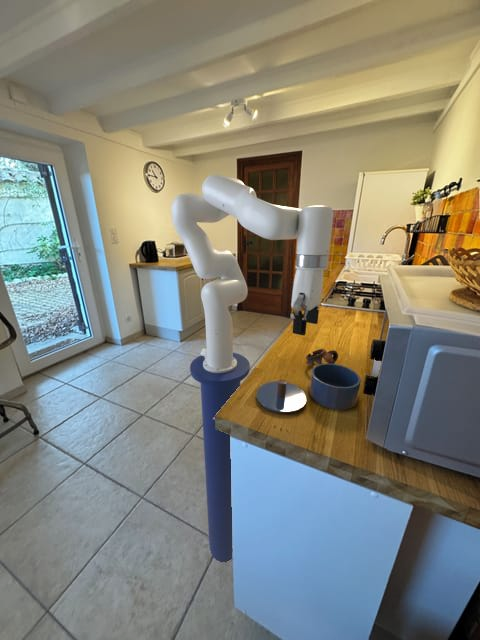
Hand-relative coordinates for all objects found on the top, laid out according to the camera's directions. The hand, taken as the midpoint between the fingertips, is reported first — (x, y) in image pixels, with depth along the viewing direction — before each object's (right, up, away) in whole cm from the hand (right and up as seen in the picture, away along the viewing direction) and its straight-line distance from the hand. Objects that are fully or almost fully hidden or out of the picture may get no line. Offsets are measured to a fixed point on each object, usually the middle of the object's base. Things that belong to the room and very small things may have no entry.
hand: (305, 328), depth 67 cm
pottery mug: (+12, -15, +23) cm, 30 cm away
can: (+27, -19, +13) cm, 36 cm away
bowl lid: (-5, -20, +7) cm, 22 cm away
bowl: (+10, -20, +9) cm, 24 cm away
